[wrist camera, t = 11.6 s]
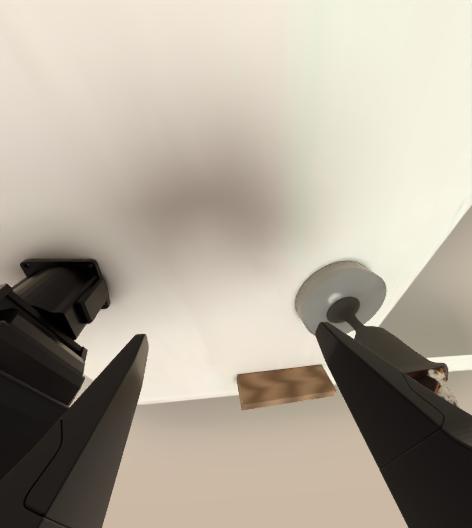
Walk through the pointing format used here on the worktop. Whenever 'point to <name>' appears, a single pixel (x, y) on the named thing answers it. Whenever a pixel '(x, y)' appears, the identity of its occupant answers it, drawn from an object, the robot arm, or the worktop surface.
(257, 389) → the brown wooden plank
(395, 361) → the sundae
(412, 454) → the robot arm
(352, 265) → the slate plinth
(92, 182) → the worktop surface
